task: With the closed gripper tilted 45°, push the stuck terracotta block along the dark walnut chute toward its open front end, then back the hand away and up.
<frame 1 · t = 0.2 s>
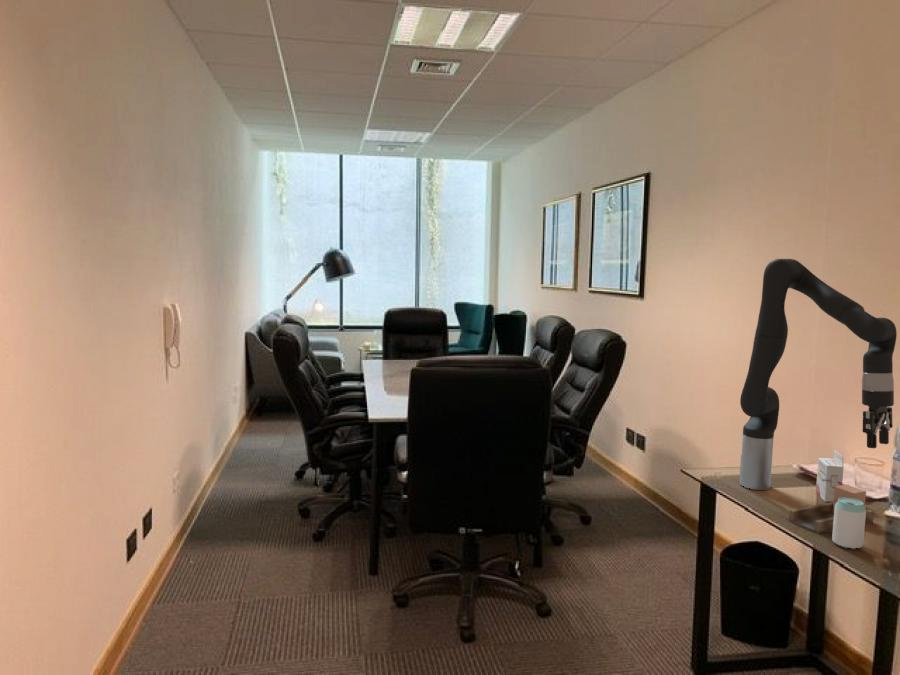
hand: (877, 445, 185), 23 cm above the table, tool pointing down, fingers open, 8 cm apart
can: (847, 545, 174), on the table
ink cartridge box: (827, 498, 208), on the table
block: (849, 502, 191), point 5 cm above the table, slide at 0.0 cm
chute: (830, 521, 189), on the table
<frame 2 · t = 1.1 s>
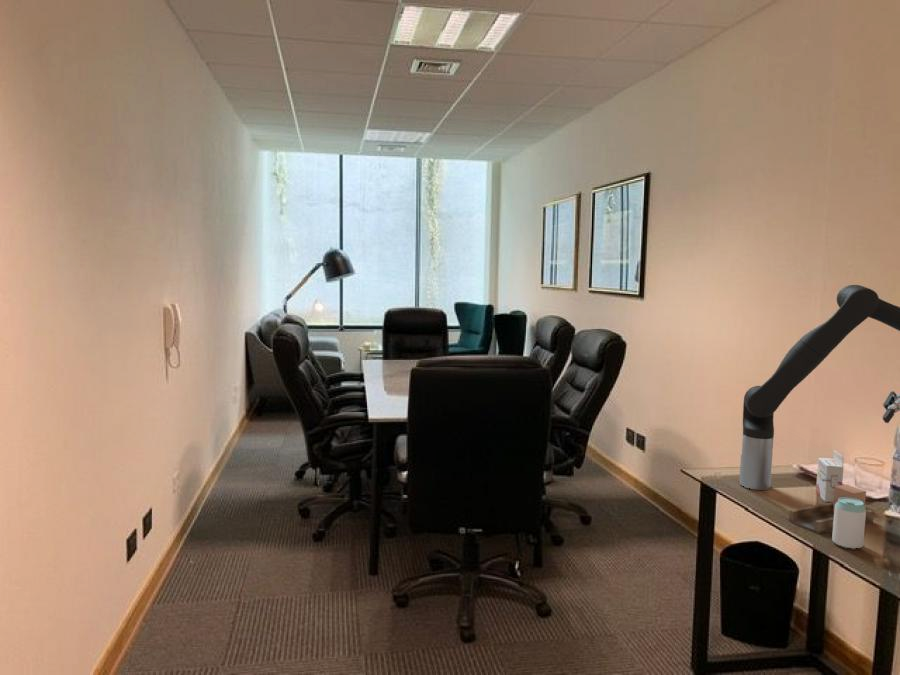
hand: (897, 423, 195), 27 cm above the table, tool tilted 45°, fingers open, 6 cm apart
nothing on the table moved.
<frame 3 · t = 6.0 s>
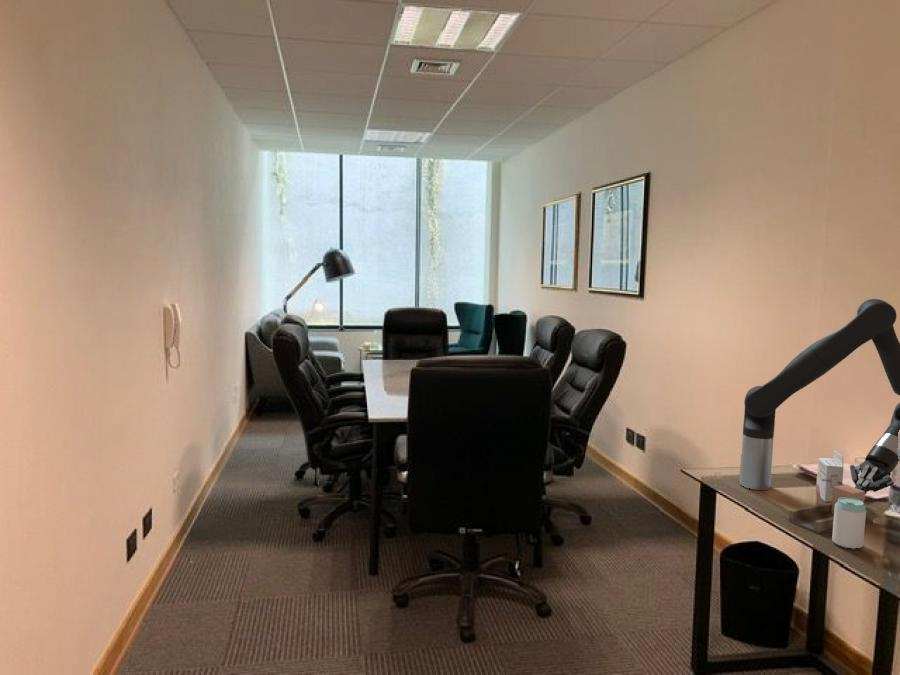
hand: (855, 497, 192), 6 cm above the table, tool tilted 45°, fingers closed
block: (847, 502, 191), point 5 cm above the table, slide at 0.5 cm, touching gripper
everything else where it was.
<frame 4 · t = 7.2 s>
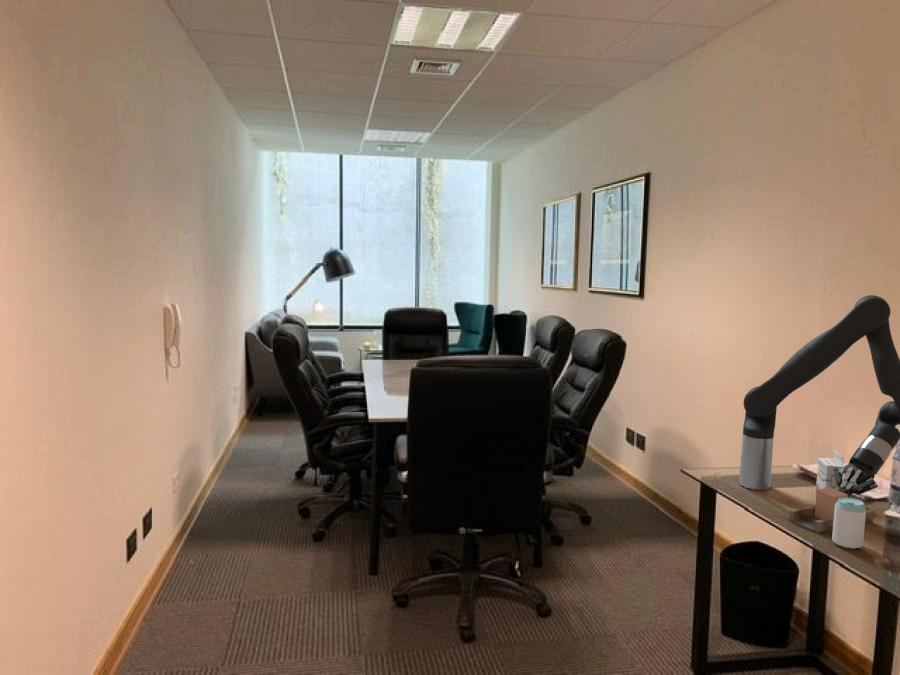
hand: (838, 500, 189), 6 cm above the table, tool tilted 45°, fingers closed
block: (831, 505, 188), point 5 cm above the table, slide at 7.4 cm, touching gripper
everything else where it was.
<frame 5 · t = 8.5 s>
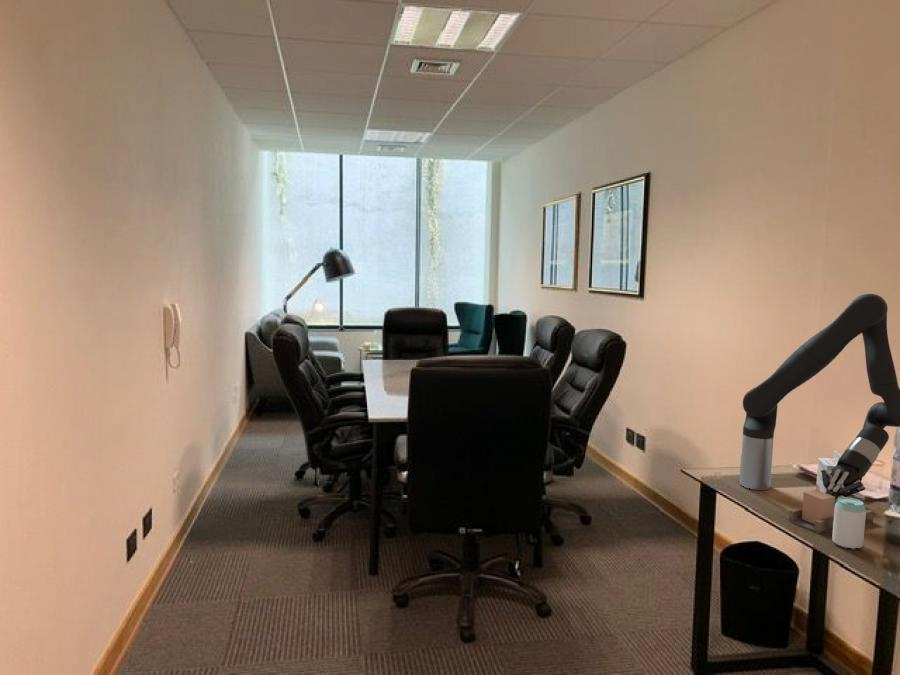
hand: (825, 503, 187), 6 cm above the table, tool tilted 45°, fingers closed
block: (818, 508, 186), point 5 cm above the table, slide at 12.6 cm, touching gripper
everything else where it was.
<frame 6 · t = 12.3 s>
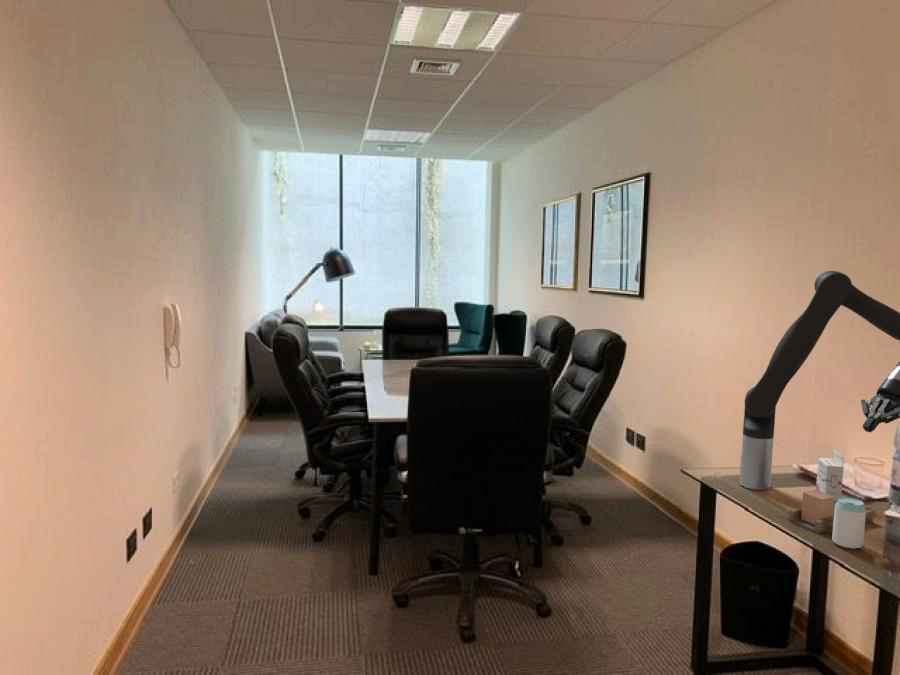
hand: (866, 430, 190), 26 cm above the table, tool tilted 45°, fingers closed
block: (817, 508, 186), point 5 cm above the table, slide at 12.8 cm
everything else where it was.
at the end: block slide at 12.8 cm; the gripper is holding nothing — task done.
